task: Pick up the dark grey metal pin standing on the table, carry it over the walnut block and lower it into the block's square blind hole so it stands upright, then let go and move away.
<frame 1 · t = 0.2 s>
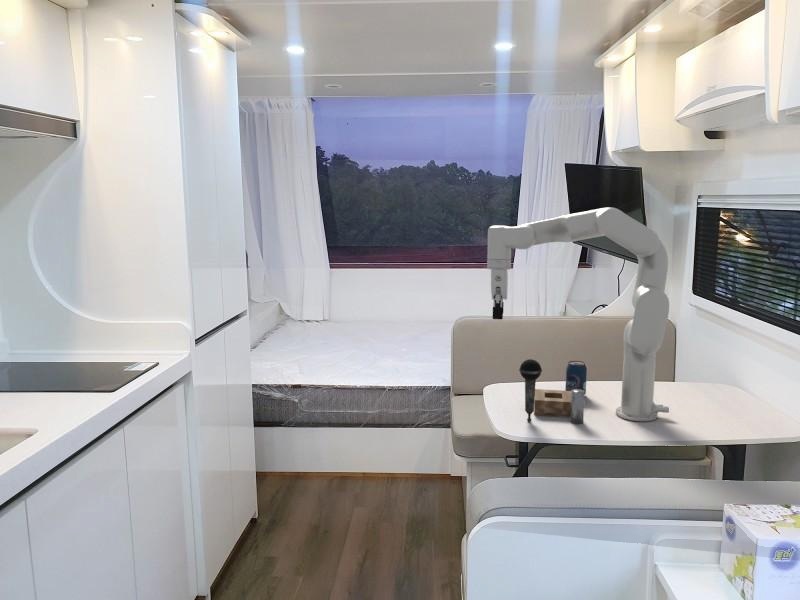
hand: (498, 316, 208), 31 cm above the table, tool pointing down, fingers open, 9 cm apart
pin: (576, 422, 198), on the table
soda can: (575, 396, 224), on the table
microphone: (529, 422, 198), on the table
socket block: (552, 410, 209), on the table
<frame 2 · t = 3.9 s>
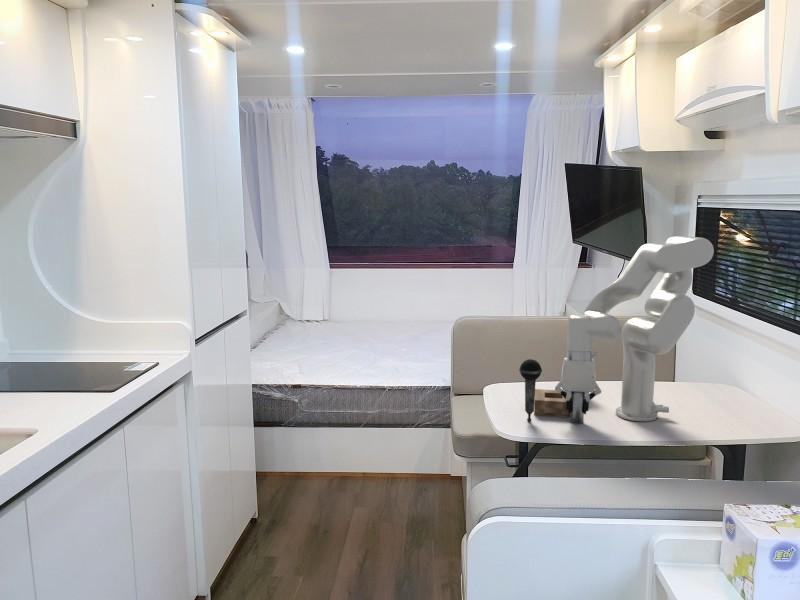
hand: (577, 411, 197), 3 cm above the table, tool pointing down, fingers closed on pin, 4 cm apart
pin: (576, 422, 198), on the table, touching gripper
everything else where it was.
when the fingers open (6 cm above the table, at t = 8.9 s): pin drops 2 cm, resting on socket block.
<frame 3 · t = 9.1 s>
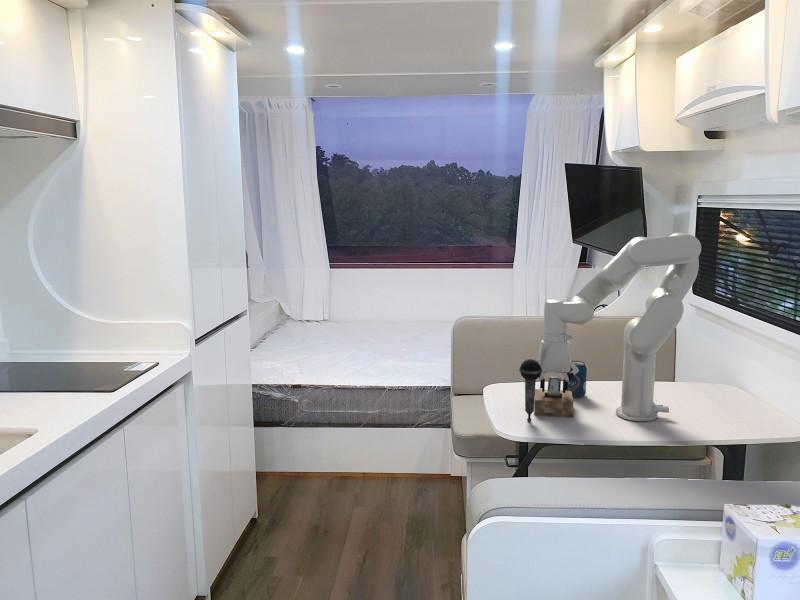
hand: (553, 390, 208), 7 cm above the table, tool pointing down, fingers open, 6 cm apart
pin: (552, 406, 209), point 1 cm above the table, touching socket block
everything else where it was.
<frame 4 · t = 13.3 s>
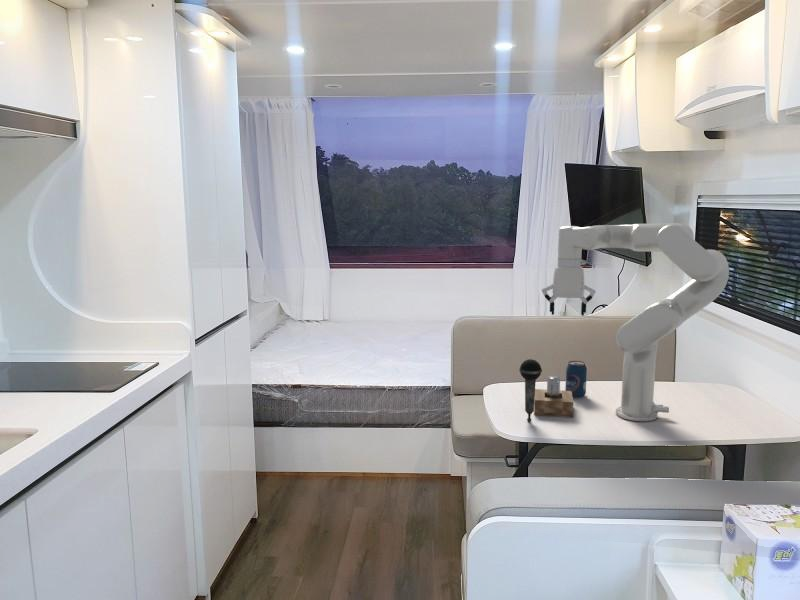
hand: (567, 314, 213), 30 cm above the table, tool pointing down, fingers open, 9 cm apart
nothing on the table moved.
at the end: pin 0.1 cm off-centre on the socket block, point 1.0 cm above the socket block's base; pin tilted 0°; the gripper is holding nothing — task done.
